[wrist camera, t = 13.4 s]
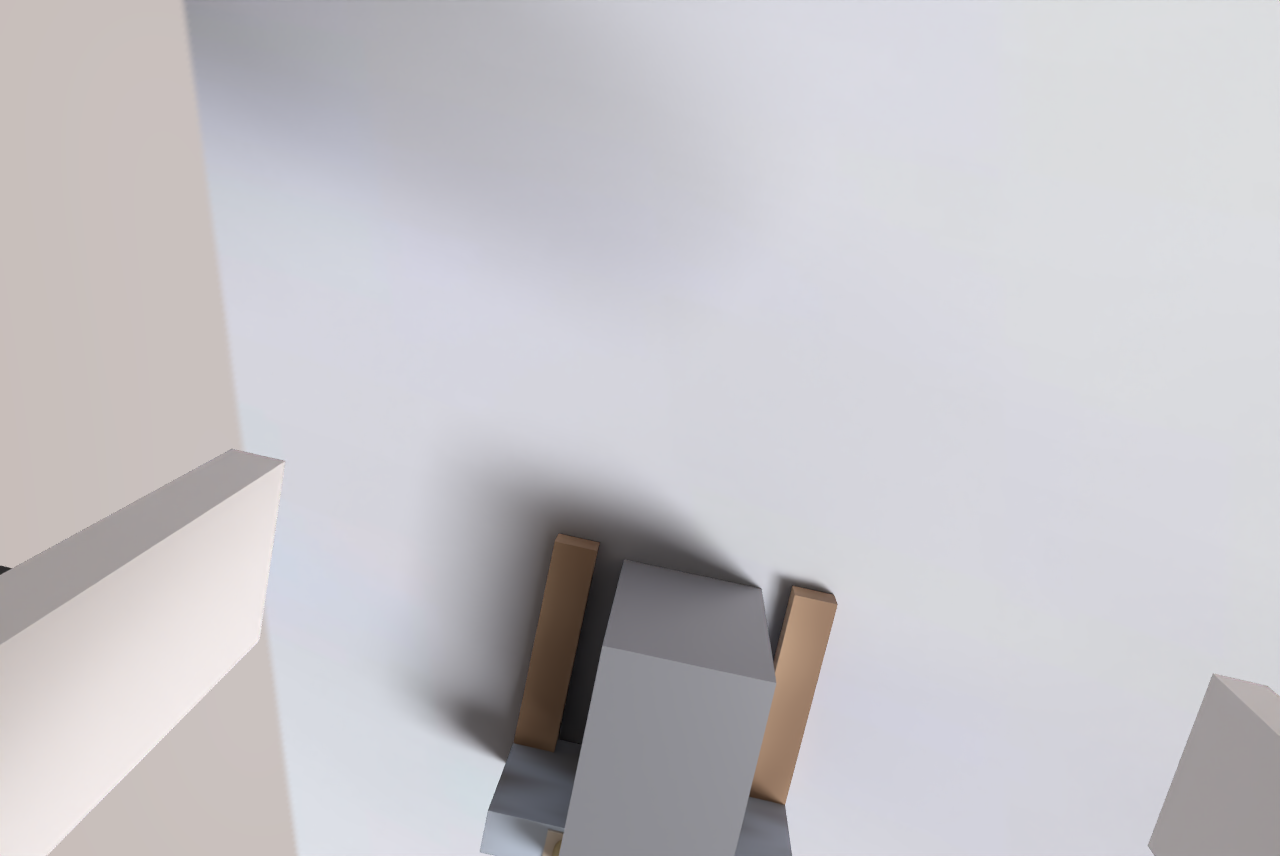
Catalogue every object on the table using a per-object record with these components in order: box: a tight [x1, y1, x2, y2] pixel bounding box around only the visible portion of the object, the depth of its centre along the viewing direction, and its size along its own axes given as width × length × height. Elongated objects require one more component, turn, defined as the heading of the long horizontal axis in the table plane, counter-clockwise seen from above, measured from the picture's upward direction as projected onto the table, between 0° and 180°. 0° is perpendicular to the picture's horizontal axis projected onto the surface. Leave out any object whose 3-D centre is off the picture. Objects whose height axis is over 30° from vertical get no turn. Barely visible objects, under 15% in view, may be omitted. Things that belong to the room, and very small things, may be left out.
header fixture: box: [480, 534, 837, 856], centre depth 34 cm, size 10×9×9 cm
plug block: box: [559, 559, 776, 856], centre depth 34 cm, size 5×7×8 cm
